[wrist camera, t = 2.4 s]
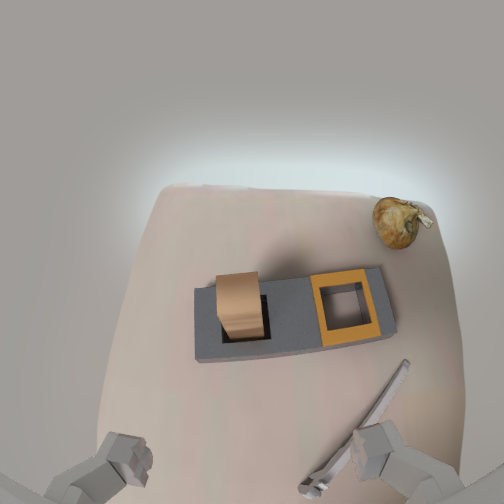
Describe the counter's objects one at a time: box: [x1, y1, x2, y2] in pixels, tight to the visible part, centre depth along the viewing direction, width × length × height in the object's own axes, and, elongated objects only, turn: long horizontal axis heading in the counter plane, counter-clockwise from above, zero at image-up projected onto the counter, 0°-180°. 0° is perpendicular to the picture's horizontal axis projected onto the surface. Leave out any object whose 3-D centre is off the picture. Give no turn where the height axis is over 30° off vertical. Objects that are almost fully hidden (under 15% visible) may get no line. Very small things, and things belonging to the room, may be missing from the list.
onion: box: [373, 197, 433, 249], centre depth 37 cm, size 8×8×8 cm
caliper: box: [298, 360, 410, 500], centre depth 24 cm, size 20×1×6 cm, turn 136°
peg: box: [216, 272, 264, 342], centre depth 30 cm, size 4×4×10 cm
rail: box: [194, 268, 397, 363], centre depth 33 cm, size 9×24×3 cm, turn 95°
